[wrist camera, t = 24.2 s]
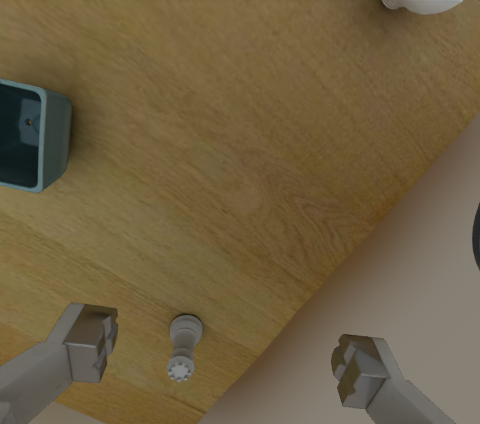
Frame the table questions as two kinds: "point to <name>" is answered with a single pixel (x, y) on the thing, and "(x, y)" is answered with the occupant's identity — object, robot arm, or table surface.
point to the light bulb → (422, 5)
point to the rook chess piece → (183, 346)
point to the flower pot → (32, 136)
